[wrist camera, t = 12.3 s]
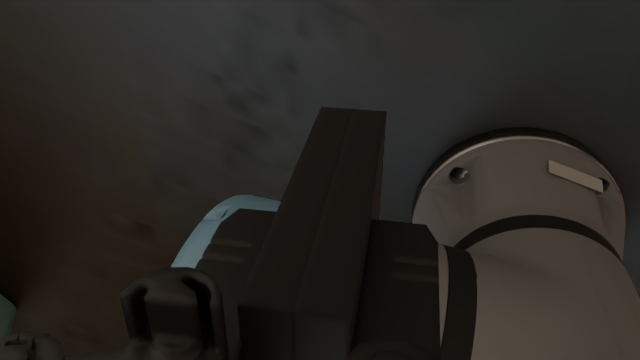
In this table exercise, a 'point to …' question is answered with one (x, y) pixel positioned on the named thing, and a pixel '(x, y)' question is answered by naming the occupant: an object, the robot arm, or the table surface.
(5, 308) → the flower pot
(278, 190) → the table surface
